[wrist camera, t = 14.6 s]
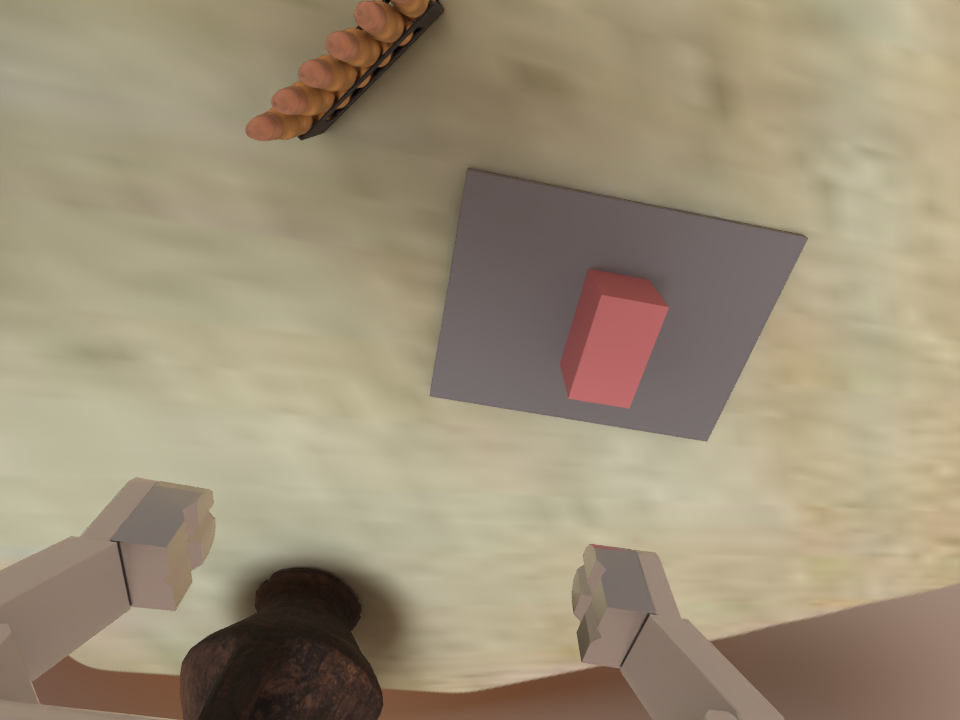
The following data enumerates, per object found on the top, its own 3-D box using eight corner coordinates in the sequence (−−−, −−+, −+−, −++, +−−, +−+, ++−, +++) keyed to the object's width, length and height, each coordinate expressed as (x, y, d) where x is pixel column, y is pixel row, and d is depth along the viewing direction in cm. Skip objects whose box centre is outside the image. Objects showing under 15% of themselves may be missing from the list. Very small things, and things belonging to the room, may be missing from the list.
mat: (430, 390, 44) (429, 396, 43) (467, 168, 36) (467, 170, 35) (703, 435, 46) (706, 441, 45) (802, 234, 37) (808, 237, 37)
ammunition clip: (424, -20, 31) (391, -64, 20) (445, 10, 31) (424, -18, 21) (301, 109, 34) (218, 129, 24) (322, 134, 35) (250, 163, 24)
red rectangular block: (588, 268, 38) (601, 294, 34) (648, 279, 38) (669, 307, 34) (559, 363, 42) (568, 398, 37) (614, 373, 42) (629, 408, 38)
